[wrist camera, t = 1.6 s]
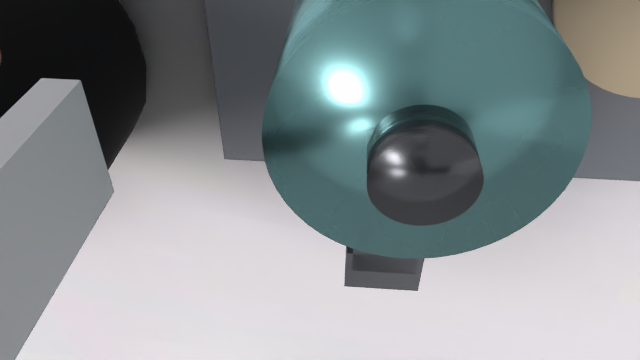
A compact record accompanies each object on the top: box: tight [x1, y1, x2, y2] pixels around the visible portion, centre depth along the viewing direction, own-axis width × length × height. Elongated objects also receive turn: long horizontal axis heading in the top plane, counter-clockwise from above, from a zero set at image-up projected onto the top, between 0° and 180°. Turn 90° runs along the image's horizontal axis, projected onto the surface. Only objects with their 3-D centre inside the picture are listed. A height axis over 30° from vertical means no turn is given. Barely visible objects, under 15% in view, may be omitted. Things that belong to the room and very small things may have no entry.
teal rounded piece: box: [262, 0, 591, 259], centre depth 12 cm, size 11×6×7 cm, turn 179°
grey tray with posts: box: [204, 0, 640, 291], centre depth 16 cm, size 18×22×9 cm
